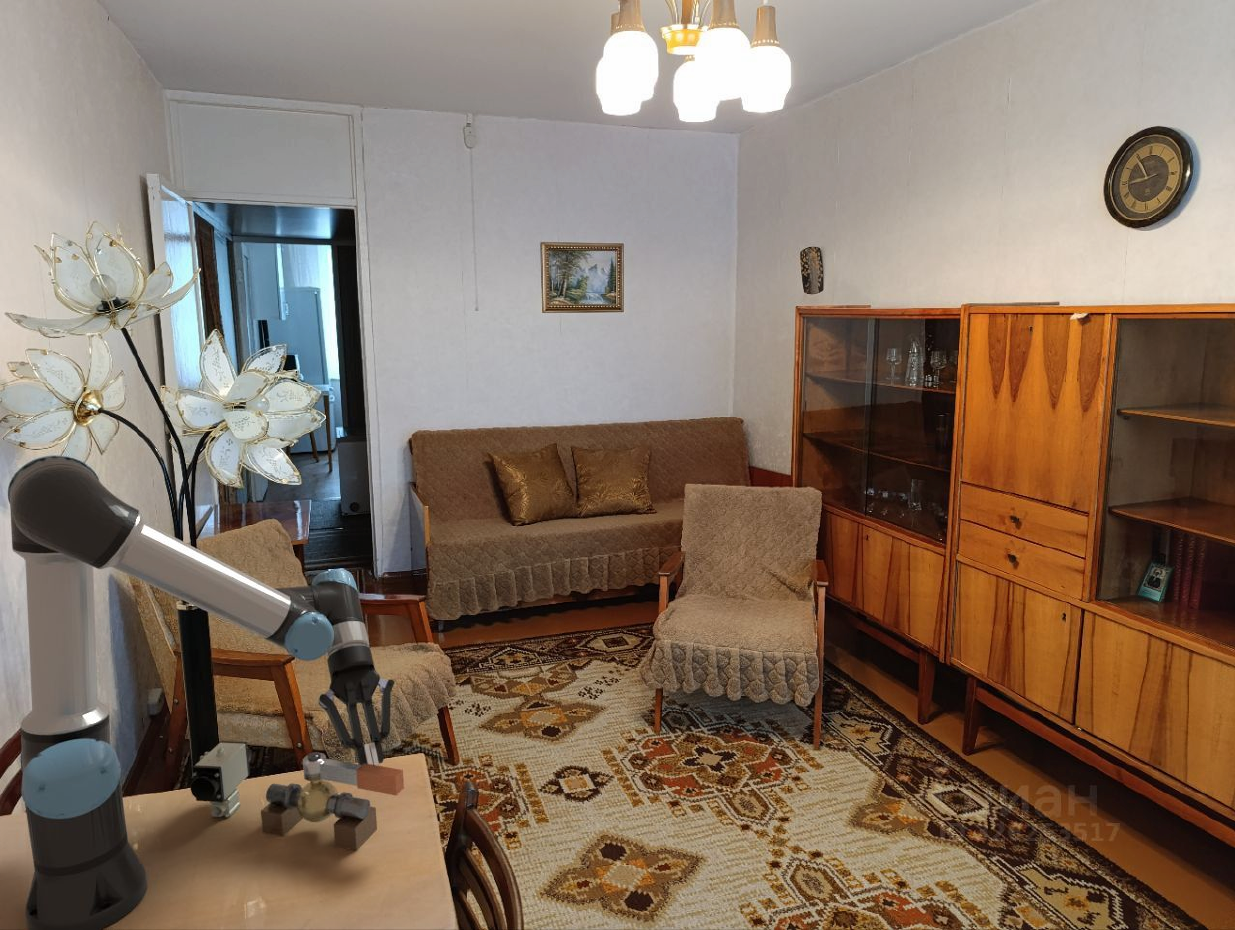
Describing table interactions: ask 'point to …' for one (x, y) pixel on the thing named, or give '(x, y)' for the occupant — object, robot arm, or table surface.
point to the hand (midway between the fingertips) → (376, 784)
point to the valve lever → (353, 774)
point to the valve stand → (319, 811)
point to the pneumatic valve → (221, 776)
